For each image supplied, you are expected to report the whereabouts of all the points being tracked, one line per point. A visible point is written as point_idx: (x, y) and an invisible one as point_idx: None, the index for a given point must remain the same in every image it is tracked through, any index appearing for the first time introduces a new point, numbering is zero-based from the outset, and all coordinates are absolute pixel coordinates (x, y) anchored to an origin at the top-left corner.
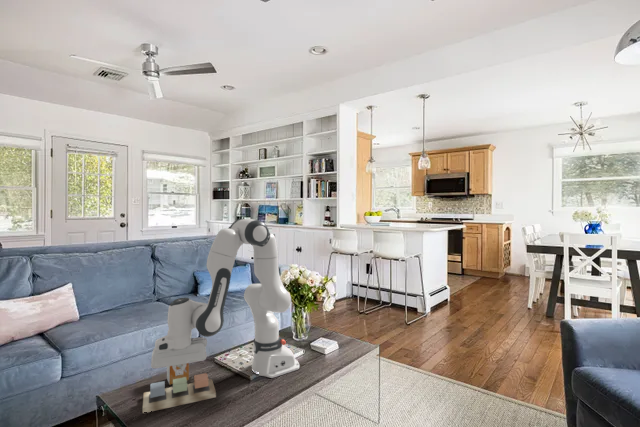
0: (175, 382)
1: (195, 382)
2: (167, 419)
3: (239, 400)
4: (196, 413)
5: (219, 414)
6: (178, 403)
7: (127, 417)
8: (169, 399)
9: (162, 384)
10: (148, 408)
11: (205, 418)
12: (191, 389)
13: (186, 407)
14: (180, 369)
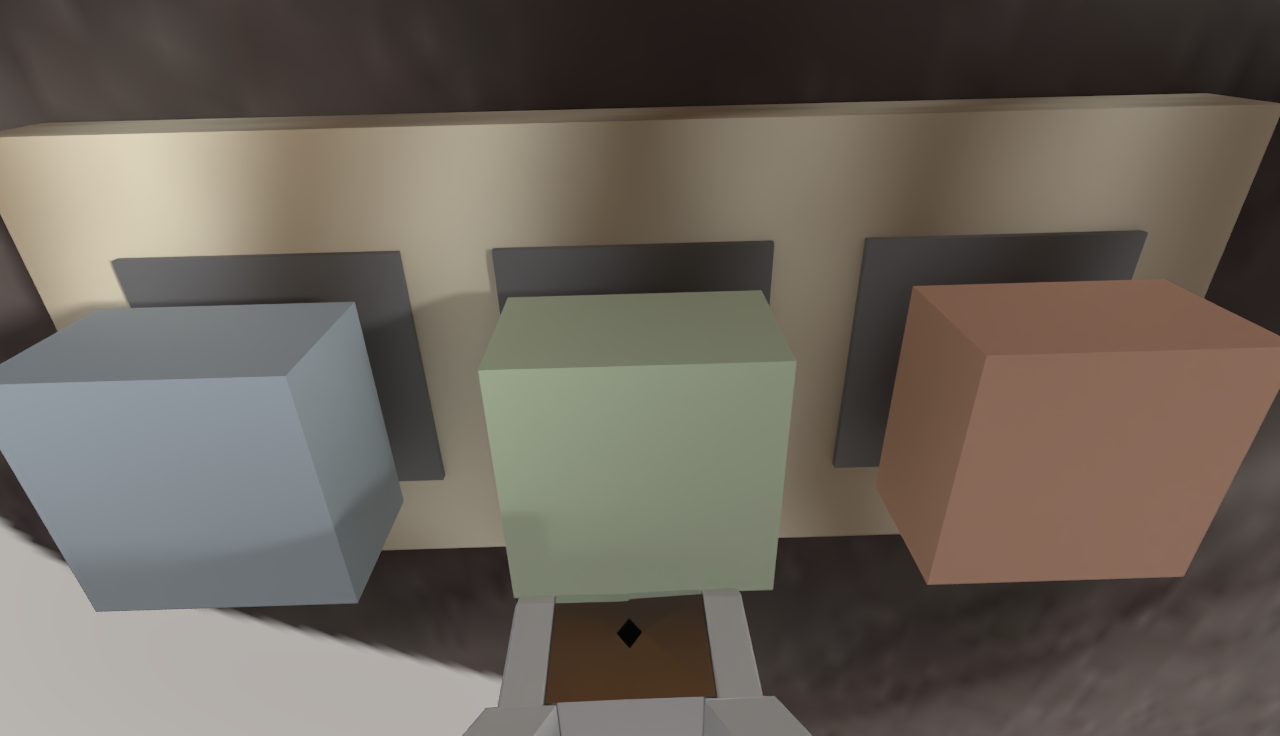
0: (549, 512)
1: (921, 564)
2: None
3: (1246, 609)
4: (780, 660)
5: (966, 722)
6: None
7: None
8: (490, 490)
9: (279, 502)
10: None
11: (839, 731)
12: (822, 344)
13: None
14: (670, 722)
